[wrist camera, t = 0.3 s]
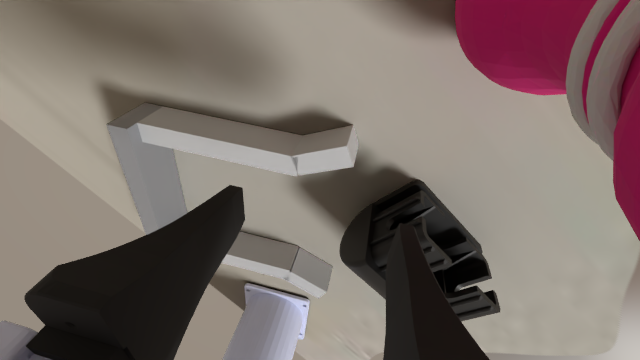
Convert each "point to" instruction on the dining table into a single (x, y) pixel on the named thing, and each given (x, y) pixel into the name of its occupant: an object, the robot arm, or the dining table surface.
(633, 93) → the pepper mill
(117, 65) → the dining table surface
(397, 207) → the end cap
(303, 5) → the dining table surface
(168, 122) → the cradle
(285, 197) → the dining table surface
